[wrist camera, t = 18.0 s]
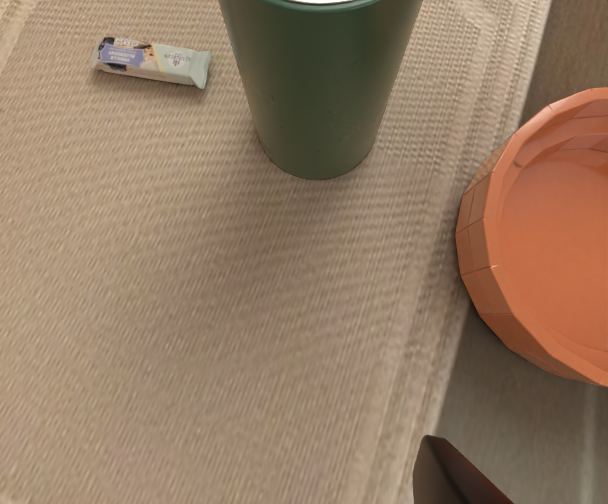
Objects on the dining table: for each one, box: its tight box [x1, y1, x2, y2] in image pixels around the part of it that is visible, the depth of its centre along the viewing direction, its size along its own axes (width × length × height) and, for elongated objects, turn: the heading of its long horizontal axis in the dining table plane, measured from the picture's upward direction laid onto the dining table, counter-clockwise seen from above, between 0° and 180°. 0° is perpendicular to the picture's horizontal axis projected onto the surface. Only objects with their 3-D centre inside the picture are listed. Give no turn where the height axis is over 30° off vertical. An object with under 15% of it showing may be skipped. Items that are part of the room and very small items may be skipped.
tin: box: [218, 0, 423, 180], centre depth 16 cm, size 7×7×12 cm
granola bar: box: [89, 34, 211, 89], centre depth 22 cm, size 7×2×1 cm, turn 79°
